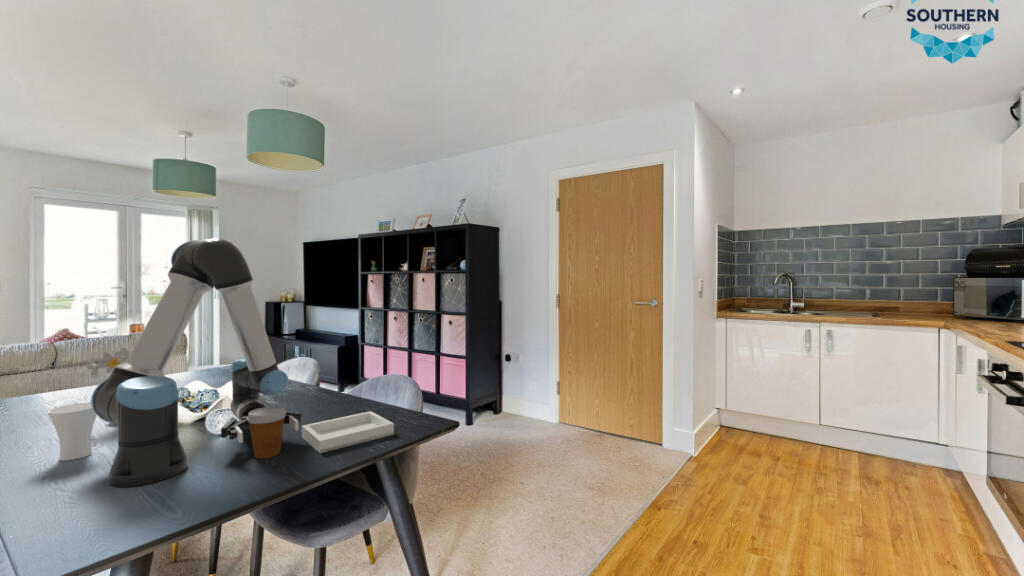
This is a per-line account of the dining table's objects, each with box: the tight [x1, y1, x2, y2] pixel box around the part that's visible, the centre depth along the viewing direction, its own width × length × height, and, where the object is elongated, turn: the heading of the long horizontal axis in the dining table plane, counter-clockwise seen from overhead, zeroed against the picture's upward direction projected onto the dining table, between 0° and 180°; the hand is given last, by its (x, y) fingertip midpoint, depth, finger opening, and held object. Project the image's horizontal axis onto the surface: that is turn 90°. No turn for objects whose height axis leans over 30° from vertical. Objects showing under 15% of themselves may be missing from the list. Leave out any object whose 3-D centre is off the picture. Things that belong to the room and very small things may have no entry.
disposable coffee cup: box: [247, 406, 286, 459], centre depth 123 cm, size 10×10×12 cm
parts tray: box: [301, 411, 395, 454], centre depth 136 cm, size 22×17×4 cm
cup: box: [46, 401, 98, 462], centre depth 122 cm, size 10×10×14 cm
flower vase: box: [85, 347, 132, 379], centre depth 153 cm, size 13×18×25 cm
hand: (270, 431), depth 120 cm, fingers open, 13 cm apart
